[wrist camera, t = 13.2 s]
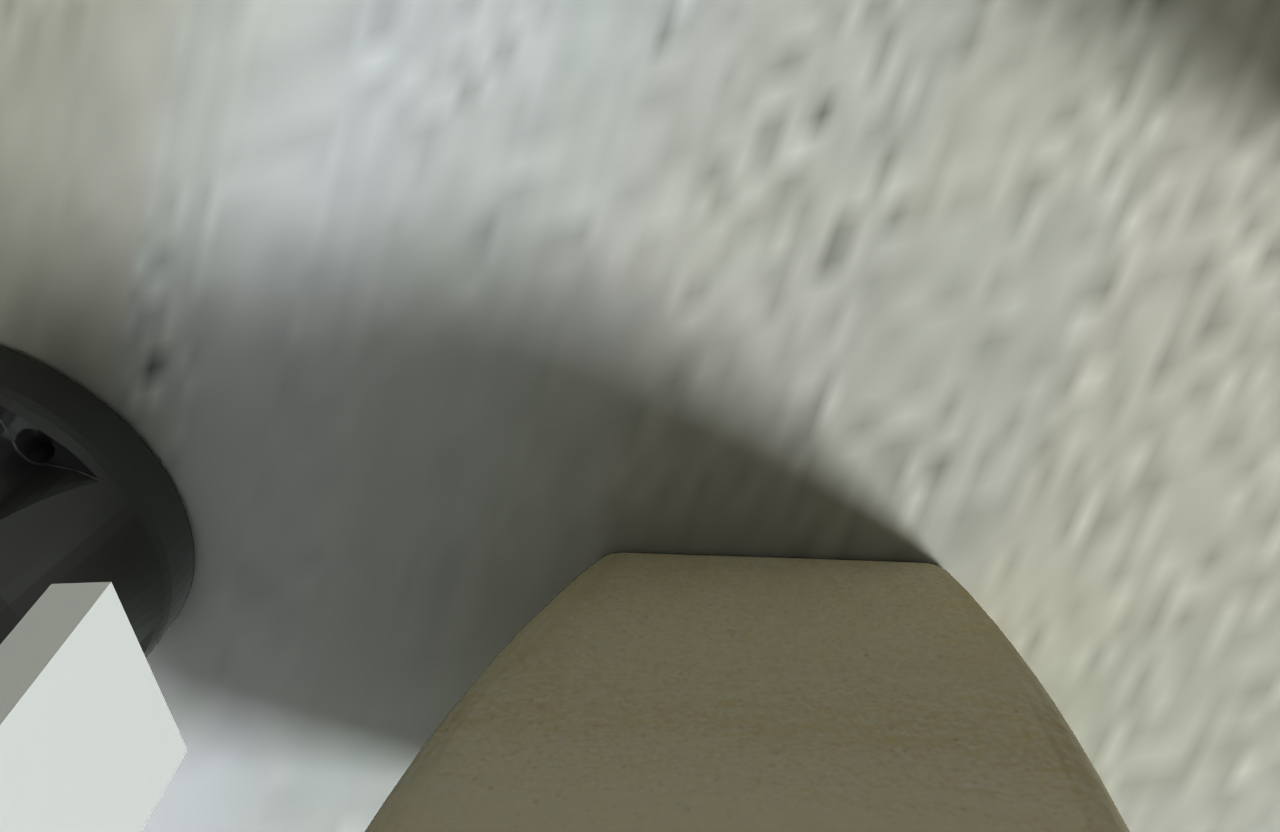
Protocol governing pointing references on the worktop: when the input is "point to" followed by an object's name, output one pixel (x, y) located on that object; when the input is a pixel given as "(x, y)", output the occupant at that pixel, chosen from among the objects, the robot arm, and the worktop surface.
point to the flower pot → (754, 711)
